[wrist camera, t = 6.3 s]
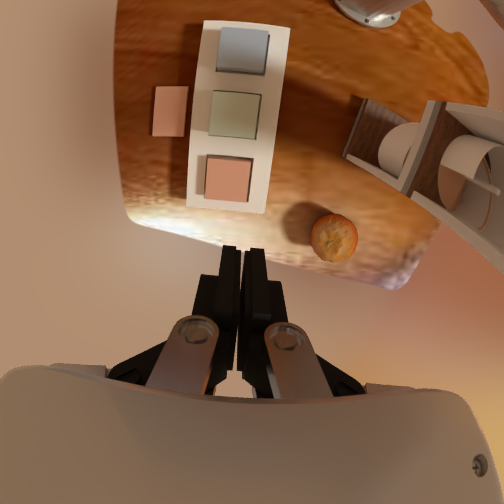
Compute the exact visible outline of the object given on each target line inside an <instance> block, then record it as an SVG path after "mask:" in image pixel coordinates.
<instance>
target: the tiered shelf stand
mask: <svg viewBox="0 0 504 504" xmlns="http://www.w3.org/2000/svg"><path fill="white" fill-rule="evenodd" d="M342 157H344V158H345V159H347V160H349V161H351V162H353V163H354V164H356V165H358V166H360V167H361V168H363V169H365V170H366V171H368V172H370V173H371V174H373V175H375V176H376V177H378V178H379V179H381V180H383V181H384V182H386V183H387V184H389V185H391V186H392V187H394V188H395V189H397V190H398V191H400V192H401V193H403V194H404V195H406V196H407V197H409V198H410V199H412V200H413V201H414V202H416V203H417V204H419V205H420V206H422V207H423V208H424V209H426V210H427V211H428V212H430V213H431V214H433V215H434V216H435V217H437V218H438V219H439V220H440V221H442V222H443V223H444V224H446V225H447V226H448V227H450V228H451V229H452V230H453V231H455V232H456V233H457V234H458V235H459V236H461V237H462V238H463V239H464V240H465V241H467V242H468V243H469V244H470V245H471V246H473V247H474V248H475V249H476V250H477V251H478V252H479V253H481V254H482V255H483V256H484V257H485V258H486V259H487V260H488V261H489V262H490V263H491V264H493V265H494V266H495V267H496V268H497V269H498V270H499V271H500V272H501V273H502V274H503V275H504V111H500V110H496V109H491V108H485V107H480V106H474V105H467V104H460V103H452V102H442V101H431V100H428V102H427V105H426V108H425V111H424V114H423V117H422V120H421V122H420V123H416V122H411V123H410V122H408V121H406V120H405V119H403V118H402V117H400V116H398V115H397V114H395V113H393V112H392V111H390V110H388V109H386V108H385V107H383V106H381V105H379V104H378V103H376V102H374V101H372V100H370V99H363V102H362V104H361V107H360V110H359V112H358V115H357V118H356V120H355V123H354V126H353V128H352V131H351V133H350V136H349V139H348V141H347V144H346V146H345V149H344V151H343V154H342Z"/></svg>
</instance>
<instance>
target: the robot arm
mask: <svg viewBox="0 0 504 504" xmlns="http://www.w3.org/2000/svg"><path fill="white" fill-rule="evenodd" d="M333 1H334V3H335V4H336V6H337V7H338V8H339V9H340V10H341V11H342V12H343V13H344V14H345V15H346V16H347V17H349V18H350V19H352V20H353V21H355V22H357V23H359V24H361V25H364V26H366V27H370V28H386V27H389V26H391V25H393V24H394V23H396V22H397V20H398V19H399V17H400V13H401V10H403V9H405V8H407V7H410V6H412V5H414V4H416V3H419V2H421V1H423V0H339V1H338V0H333ZM479 1H480V2H481V3H482V4H483V5H484V7H485V8H486V9H487V11H488V12H489V13H490V15H491V16H492V17H493V18H494V20H495V21H496V22H497V23H498V24H499V26H500V27H502V29H503V30H504V0H479ZM240 269H241V250H236V246H227V245H223V249H222V256H221V262H220V269H219V276H214V275H204V274H201V276H200V280H199V285H198V289H197V293H196V298H195V302H194V307H193V311H192V315H191V316H187V317H184V318H182V319H180V320H179V321H177V323H176V324H175V325H174V327H173V329H172V331H171V333H170V335H169V337H168V340H166V341H164V342H162V343H161V344H158V345H156V346H154V347H152V348H150V349H148V350H146V351H144V352H142V353H140V354H138V355H136V356H134V357H132V358H130V359H128V360H126V361H123V362H121V363H119V364H118V365H116V366H114V367H113V368H112V369H107V368H106V366H101V365H79V364H64V363H55V364H52V365H50V366H43V365H31V366H22V367H17V368H14V369H12V370H10V371H8V372H7V373H6V374H5V375H4V376H3V377H2V378H1V379H0V504H504V501H503V496H502V491H501V486H500V482H499V478H498V475H497V471H496V468H495V464H494V461H493V458H492V455H491V452H490V449H489V446H488V443H487V441H486V438H485V436H484V433H483V431H482V429H481V426H480V424H479V422H478V420H477V418H476V417H475V415H474V413H473V411H472V409H471V408H470V406H469V405H468V404H467V402H466V401H465V400H464V399H463V398H462V397H460V396H459V395H457V394H455V393H452V392H449V391H444V390H439V389H427V388H422V389H414V388H411V387H405V386H392V385H380V384H370V383H366V384H365V386H362V385H361V384H360V383H359V382H358V381H357V380H355V379H354V378H352V377H351V376H349V375H347V374H346V373H344V372H343V371H341V370H340V369H338V368H337V367H335V366H333V365H332V364H330V363H329V362H327V361H326V360H324V359H323V358H321V357H320V356H318V355H317V354H315V352H314V350H313V347H312V345H311V342H310V340H309V338H308V336H307V334H306V333H305V331H304V330H303V329H302V328H300V327H299V326H297V325H295V324H292V323H288V318H287V312H286V307H285V301H284V295H283V290H282V284H281V282H280V281H270V280H268V278H267V270H266V262H265V253H264V249H259V248H250V251H245V255H244V264H243V272H242V281H241V289H240ZM237 328H238V342H237V371H242V379H245V380H246V381H247V382H248V383H249V384H250V385H252V394H253V398H239V397H224V396H214V395H215V391H216V385H217V384H219V383H220V382H221V381H223V380H225V379H226V377H227V370H232V369H233V361H234V353H235V345H236V336H237Z"/></svg>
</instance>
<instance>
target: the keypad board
mask: <svg viewBox="0 0 504 504" xmlns="http://www.w3.org/2000/svg"><path fill="white" fill-rule="evenodd" d="M222 27H233V28H247V29H257V30H265V31H269V33H268V40H267V48H266V55H265V62H264V69H263V73H262V74H260V73H251V72H241V71H228V70H218V68H217V67H216V64H217V57H218V50H219V43H220V36H221V30H222ZM289 34H290V28H286V27H280V26H274V25H266V24H258V23H248V22H234V21H204V25H203V31H202V37H201V43H200V50H199V57H198V65H197V72H196V80H195V89H194V98H193V108H192V119H191V131H190V144H189V159H188V177H187V202H186V207H197V208H209V209H220V210H231V211H241V212H251V213H260V214H264V213H265V206H266V199H267V192H268V185H269V178H270V171H271V164H272V157H273V150H274V143H275V136H276V129H277V122H278V115H279V108H280V100H281V93H282V86H283V79H284V71H285V64H286V57H287V49H288V42H289ZM213 91H218V92H232V93H244V94H253V95H260V99H259V107H258V115H257V122H256V130H255V138H254V139H250V138H240V137H229V136H217V135H209V125H210V115H211V105H212V96H213ZM210 155H218V156H230V157H240V158H250V159H251V167H250V175H249V183H248V192H247V200H246V203H243V202H233V201H223V200H211V199H205V190H206V175H207V162H208V158H209V156H210Z"/></svg>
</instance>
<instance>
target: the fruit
mask: <svg viewBox="0 0 504 504" xmlns="http://www.w3.org/2000/svg"><path fill="white" fill-rule="evenodd" d="M357 242H358V233H357V229H356V227H355V225H354V224H353V223H352V222H351V221H350V220H349V219H347V218H345V217H344V216H342V215H339V214H330V215H326V216H323V217H322V218H320V219H318V220H317V221H316V222H315V224H314V226H313V228H312V231H311V238H310V243H311V245H312V247H313V249H314V252H315V253H316V254H317V255H318V256H319V257H320V258H321V259H322V260H324V261H330V262H333V263H335V262H339V261H340V260H343V259H346V258H348V257H350V256H351V255H352V254H353V253H354V251H355V249H356V246H357Z"/></svg>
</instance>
